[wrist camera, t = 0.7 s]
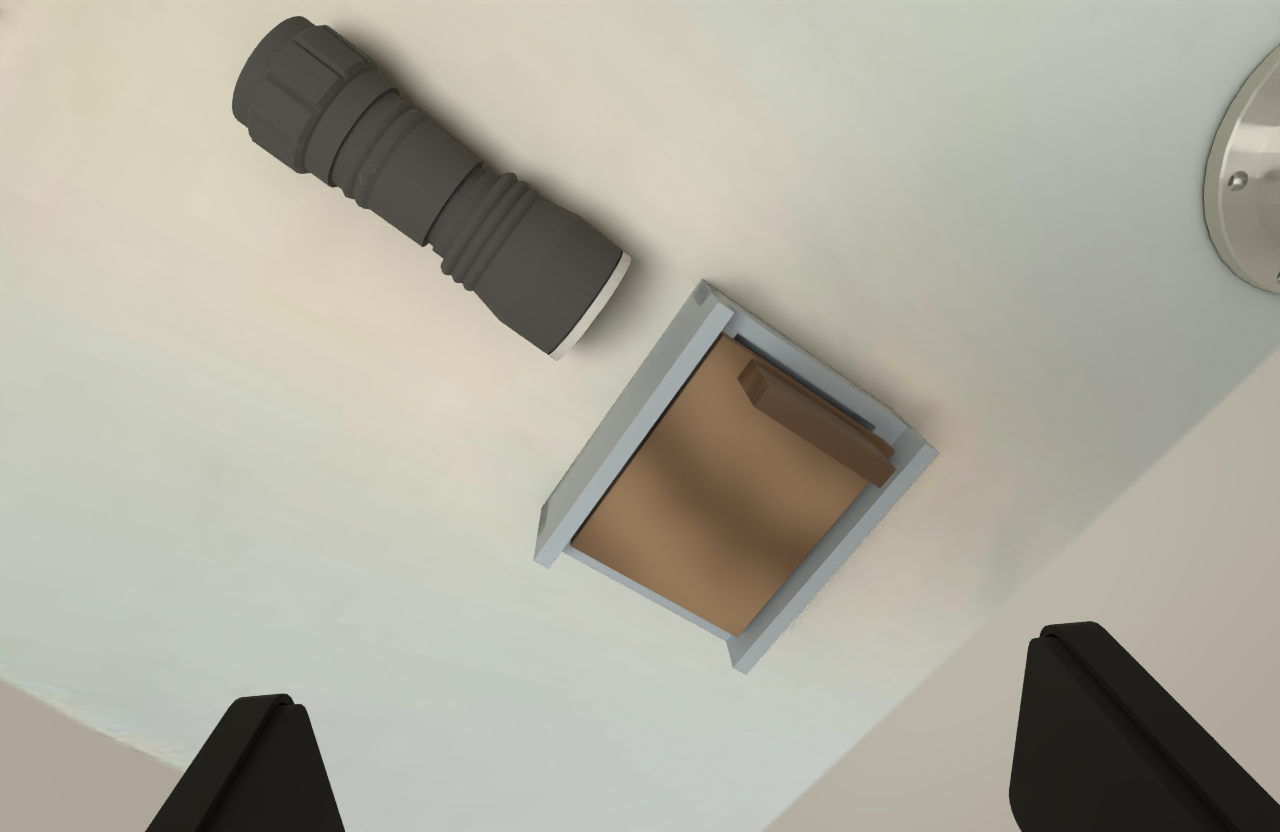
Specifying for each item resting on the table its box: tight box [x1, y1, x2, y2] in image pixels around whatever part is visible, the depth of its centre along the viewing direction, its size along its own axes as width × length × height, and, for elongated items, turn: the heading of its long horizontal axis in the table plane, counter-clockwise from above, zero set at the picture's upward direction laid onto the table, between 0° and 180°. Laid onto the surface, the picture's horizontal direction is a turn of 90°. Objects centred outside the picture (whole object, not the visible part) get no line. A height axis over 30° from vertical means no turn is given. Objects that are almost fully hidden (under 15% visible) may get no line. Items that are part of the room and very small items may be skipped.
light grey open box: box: [534, 279, 939, 674], centre depth 34 cm, size 14×12×5 cm
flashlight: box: [232, 16, 632, 361], centre depth 29 cm, size 15×5×5 cm, turn 52°
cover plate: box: [570, 331, 896, 637], centre depth 32 cm, size 12×10×5 cm
